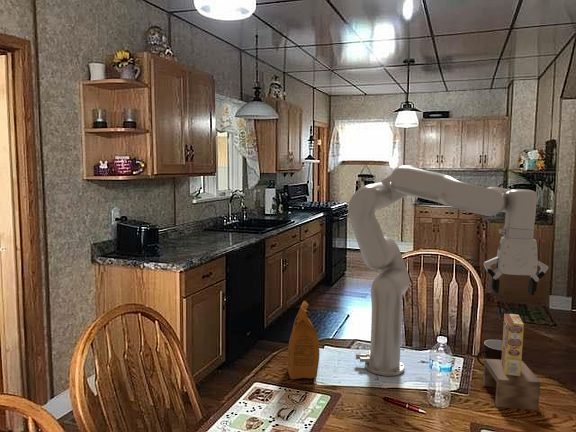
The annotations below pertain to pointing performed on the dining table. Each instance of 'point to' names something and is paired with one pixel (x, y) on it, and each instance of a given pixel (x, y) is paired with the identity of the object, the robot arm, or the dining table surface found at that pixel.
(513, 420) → the dining table surface
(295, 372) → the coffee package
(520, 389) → the walnut shelf
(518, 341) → the candy box
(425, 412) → the dining table surface
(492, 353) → the coffee mug
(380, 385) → the dining table surface
